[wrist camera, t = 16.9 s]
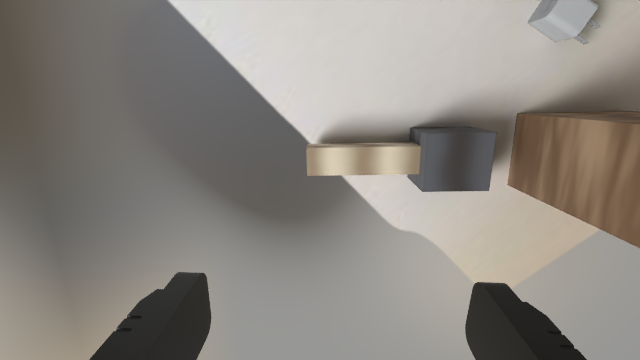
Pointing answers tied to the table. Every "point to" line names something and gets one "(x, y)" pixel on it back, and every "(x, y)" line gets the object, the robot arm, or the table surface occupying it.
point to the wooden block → (582, 166)
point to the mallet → (415, 158)
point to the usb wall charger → (563, 18)
